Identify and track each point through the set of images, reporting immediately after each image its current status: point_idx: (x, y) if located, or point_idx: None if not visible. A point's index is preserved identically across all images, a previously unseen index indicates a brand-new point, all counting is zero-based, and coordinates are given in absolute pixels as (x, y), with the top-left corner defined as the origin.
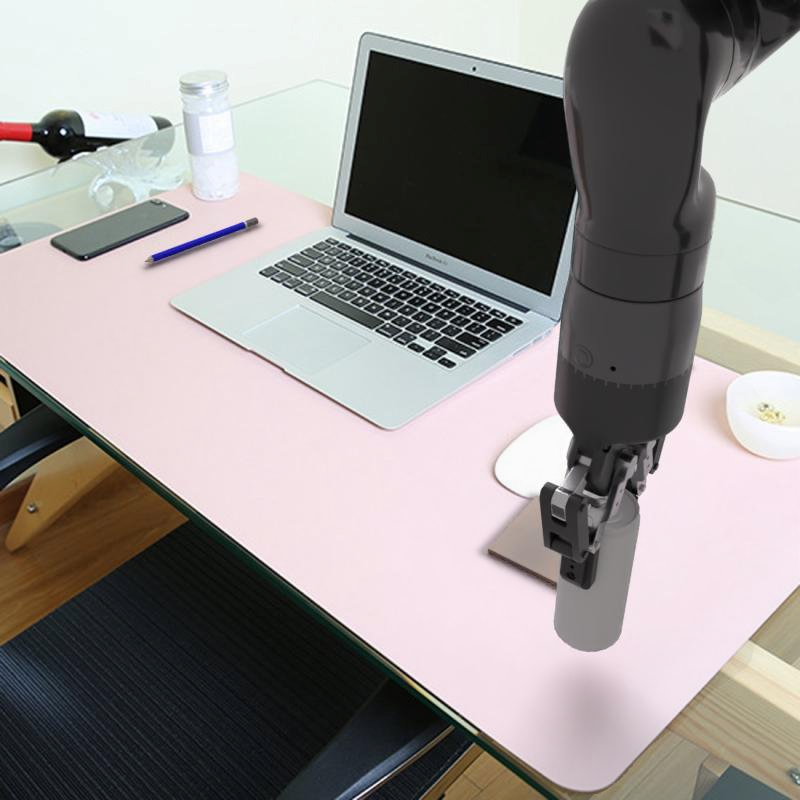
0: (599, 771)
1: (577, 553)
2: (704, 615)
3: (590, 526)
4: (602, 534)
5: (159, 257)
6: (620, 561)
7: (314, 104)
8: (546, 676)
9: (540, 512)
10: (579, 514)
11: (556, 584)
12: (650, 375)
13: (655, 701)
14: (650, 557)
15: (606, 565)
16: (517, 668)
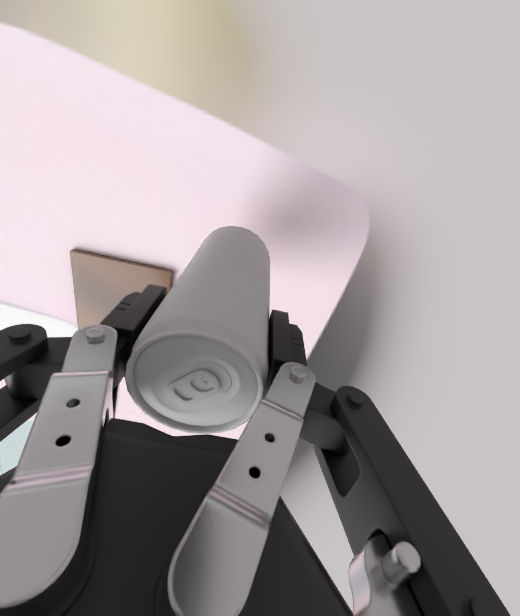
0: (356, 198)
1: (385, 425)
2: (120, 132)
3: (262, 396)
4: (278, 378)
5: None
6: (247, 299)
7: None
8: (272, 268)
9: (96, 324)
10: (486, 596)
11: (170, 288)
12: None
13: (259, 163)
14: (78, 212)
15: (262, 315)
16: (273, 292)
